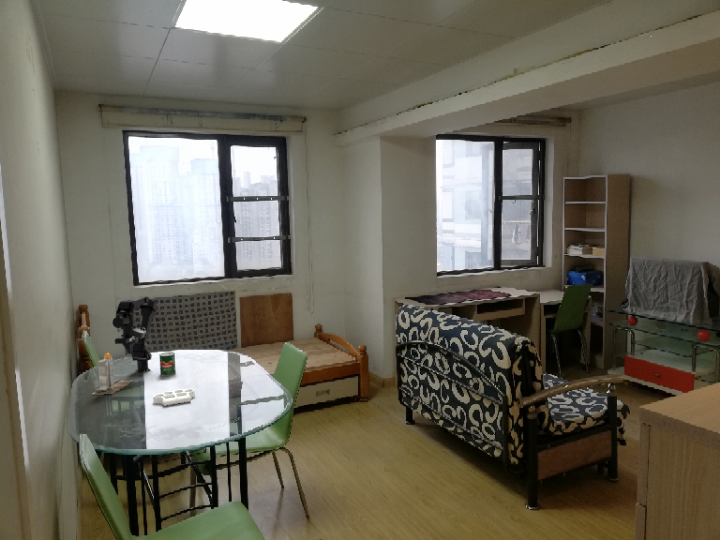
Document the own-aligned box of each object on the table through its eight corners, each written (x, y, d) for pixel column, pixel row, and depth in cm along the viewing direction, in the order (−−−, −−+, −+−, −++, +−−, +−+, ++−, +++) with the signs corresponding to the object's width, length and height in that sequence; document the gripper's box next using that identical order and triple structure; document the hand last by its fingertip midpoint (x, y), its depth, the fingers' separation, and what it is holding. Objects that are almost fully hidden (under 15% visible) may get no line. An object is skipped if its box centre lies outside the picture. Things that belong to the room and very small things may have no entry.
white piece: (156, 409, 229) (152, 400, 242) (198, 401, 238) (192, 393, 251) (155, 402, 229) (151, 393, 242) (198, 394, 237) (191, 386, 250)
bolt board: (114, 382, 271) (112, 351, 270) (133, 381, 270) (131, 351, 269) (92, 394, 251) (89, 362, 249) (112, 394, 250) (110, 361, 249)
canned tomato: (163, 376, 279) (162, 356, 278) (158, 373, 285) (156, 353, 284) (178, 373, 284) (177, 353, 283) (172, 370, 290) (171, 351, 289)
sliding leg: (104, 385, 260) (101, 352, 258) (115, 385, 259) (112, 351, 258) (99, 388, 256) (97, 354, 254) (110, 388, 255) (108, 353, 254)
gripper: (134, 327, 266) (136, 357, 268) (151, 320, 285) (152, 349, 286) (113, 327, 267) (115, 357, 268) (131, 321, 286) (132, 349, 287)
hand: (129, 353), depth 278 cm, fingers closed
